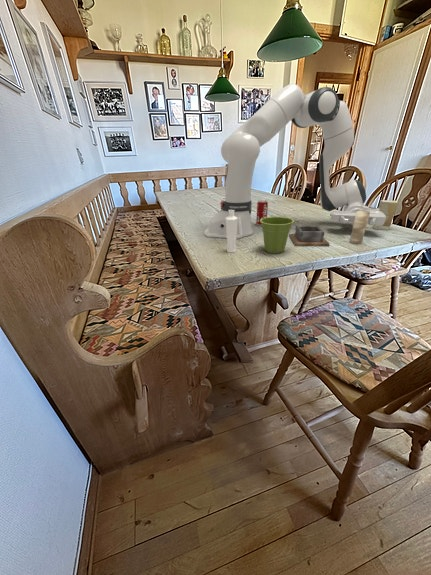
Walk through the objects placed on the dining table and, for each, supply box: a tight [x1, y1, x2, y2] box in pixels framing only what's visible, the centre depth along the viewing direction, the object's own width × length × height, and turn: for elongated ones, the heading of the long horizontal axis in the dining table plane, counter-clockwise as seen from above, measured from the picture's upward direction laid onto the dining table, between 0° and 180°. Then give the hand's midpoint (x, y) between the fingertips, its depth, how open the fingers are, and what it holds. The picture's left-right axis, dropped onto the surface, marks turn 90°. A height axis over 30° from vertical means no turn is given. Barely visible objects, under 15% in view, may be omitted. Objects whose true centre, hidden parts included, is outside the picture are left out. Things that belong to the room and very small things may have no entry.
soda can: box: [255, 199, 269, 227], centre depth 122 cm, size 5×5×12 cm
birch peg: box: [349, 210, 370, 245], centre depth 95 cm, size 4×4×12 cm
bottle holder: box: [288, 225, 330, 247], centre depth 100 cm, size 13×13×5 cm
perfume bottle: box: [225, 210, 238, 253], centre depth 90 cm, size 5×4×15 cm
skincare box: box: [372, 199, 399, 231], centre depth 111 cm, size 6×4×12 cm
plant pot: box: [260, 216, 295, 254], centre depth 90 cm, size 12×12×11 cm
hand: (358, 222), depth 98 cm, fingers open, 8 cm apart
